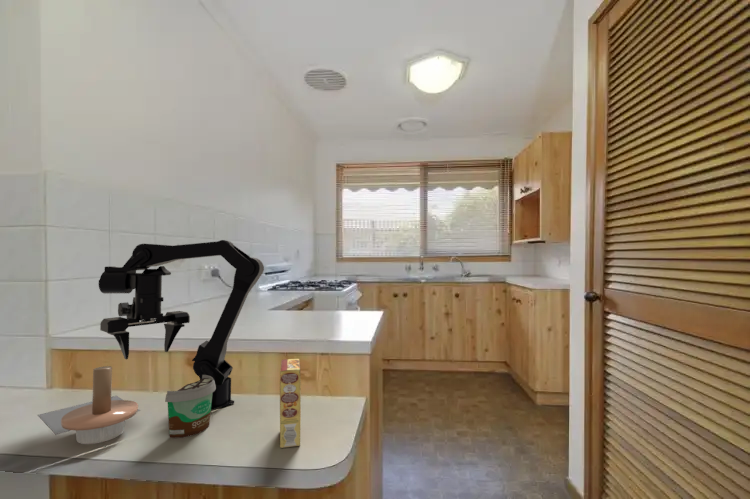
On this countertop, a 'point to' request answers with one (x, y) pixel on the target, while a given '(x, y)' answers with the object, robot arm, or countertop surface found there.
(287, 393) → the candy box
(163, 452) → the countertop surface
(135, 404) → the lid
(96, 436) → the ramekin
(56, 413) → the mat
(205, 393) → the food container
